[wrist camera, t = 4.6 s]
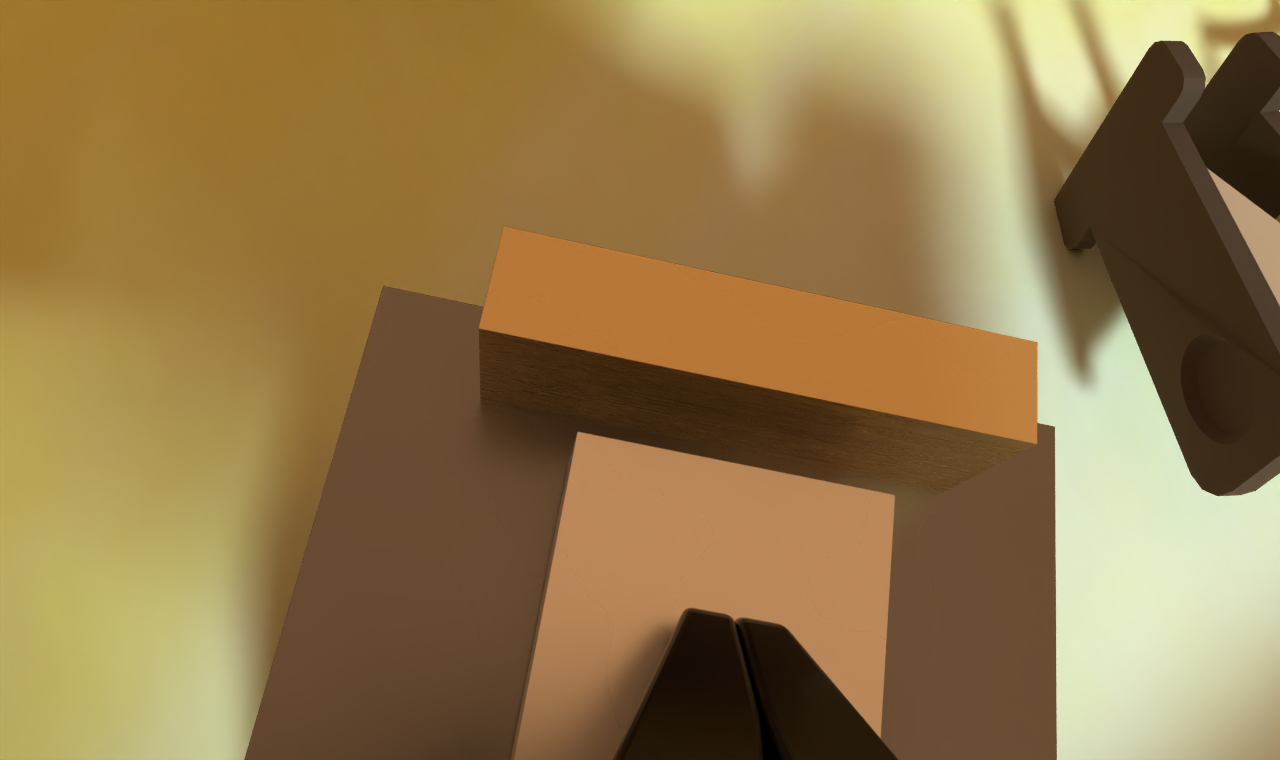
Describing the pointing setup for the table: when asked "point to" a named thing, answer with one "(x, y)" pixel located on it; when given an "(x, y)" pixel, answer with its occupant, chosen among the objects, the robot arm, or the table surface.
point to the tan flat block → (695, 583)
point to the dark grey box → (673, 420)
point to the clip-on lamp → (1196, 246)
